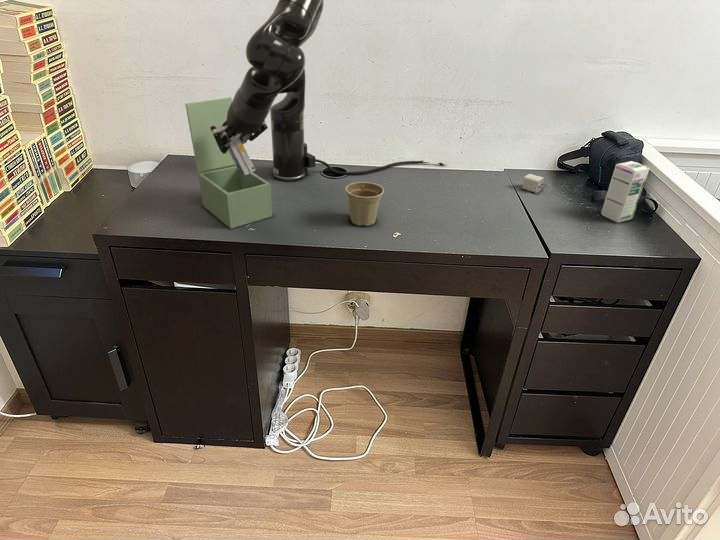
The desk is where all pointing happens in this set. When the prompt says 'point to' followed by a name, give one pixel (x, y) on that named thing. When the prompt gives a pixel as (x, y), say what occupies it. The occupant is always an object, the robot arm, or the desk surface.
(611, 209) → the syrup box
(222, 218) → the bin
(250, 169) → the walkman
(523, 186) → the usb wall charger
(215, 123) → the lid
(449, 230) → the desk surface
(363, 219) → the flower pot
